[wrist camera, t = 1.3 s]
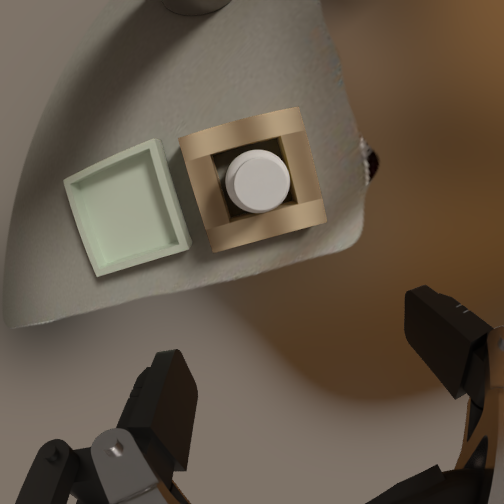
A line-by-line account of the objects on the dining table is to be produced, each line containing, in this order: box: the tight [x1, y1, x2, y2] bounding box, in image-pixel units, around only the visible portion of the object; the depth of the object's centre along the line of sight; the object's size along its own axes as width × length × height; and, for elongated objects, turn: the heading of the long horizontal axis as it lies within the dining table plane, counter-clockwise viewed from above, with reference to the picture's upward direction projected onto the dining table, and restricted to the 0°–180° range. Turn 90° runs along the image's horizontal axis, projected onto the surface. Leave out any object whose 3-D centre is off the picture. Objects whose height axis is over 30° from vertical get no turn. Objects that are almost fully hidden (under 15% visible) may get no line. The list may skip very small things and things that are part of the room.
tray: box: [63, 138, 192, 277], centre depth 28 cm, size 12×12×2 cm
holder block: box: [178, 107, 327, 253], centre depth 28 cm, size 12×12×3 cm
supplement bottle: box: [225, 150, 290, 213], centre depth 25 cm, size 5×5×10 cm
